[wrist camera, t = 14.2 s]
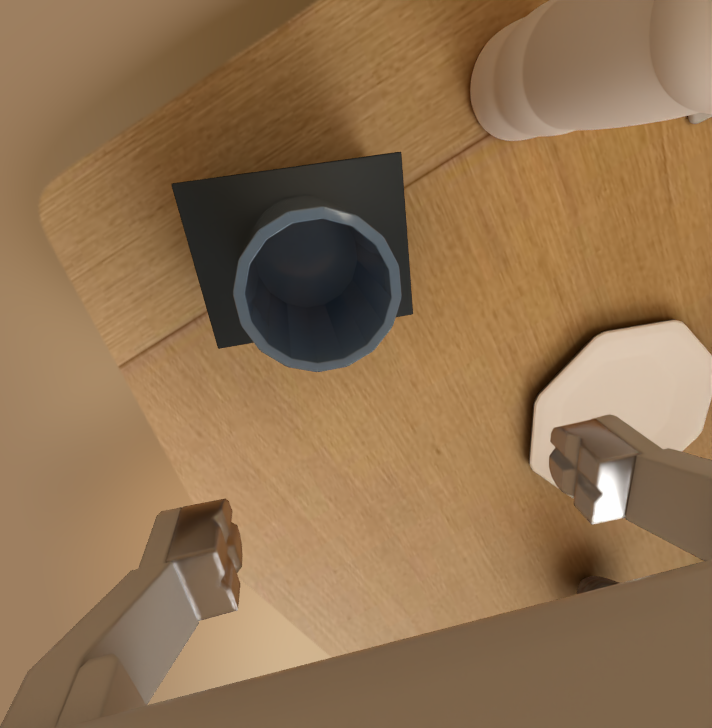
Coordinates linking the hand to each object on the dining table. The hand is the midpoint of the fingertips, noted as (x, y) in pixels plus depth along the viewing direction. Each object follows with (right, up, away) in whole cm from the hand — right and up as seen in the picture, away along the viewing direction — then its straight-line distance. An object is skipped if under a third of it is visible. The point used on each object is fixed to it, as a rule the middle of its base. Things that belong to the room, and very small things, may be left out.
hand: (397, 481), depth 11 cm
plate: (+26, -2, +34) cm, 43 cm away
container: (-5, +13, +22) cm, 26 cm away
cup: (-4, +9, +15) cm, 18 cm away
